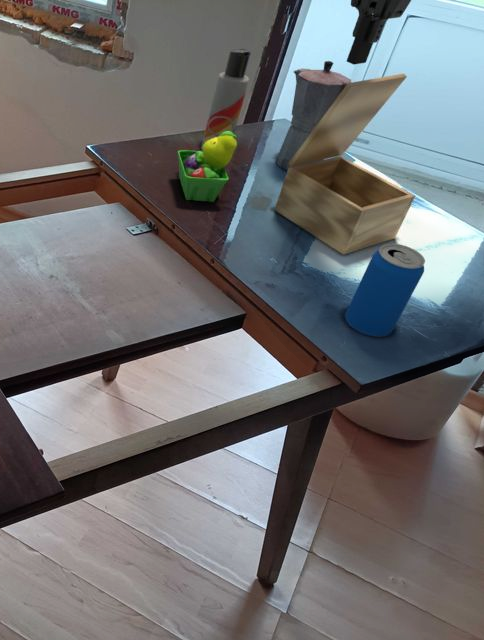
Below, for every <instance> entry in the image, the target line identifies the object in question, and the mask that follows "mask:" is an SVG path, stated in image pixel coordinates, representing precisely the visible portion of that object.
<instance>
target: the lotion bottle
mask: <svg viewBox="0 0 484 640" xmlns="http://www.w3.org/2000/svg"><path fill="white" fill-rule="evenodd" d="M251 55H252V52H251V51H250V50H248V49H245V48H237V49H231V50H230V51H229V54H228V58H227V61H226V66H225V70H224V71H222V72H219V75H218V77H217V81H216V85H215V89H214V93H213V96H212V97H213V98H212V101H211V105H210V110H209V112H208V113H209V114H208V117H207V122H206V126H205V129H204V134H203V138H202V142H201V148H200V151H202V152H203V148H202V147H203V145H204V143H205V142H206V141H208V140H210V139H212V138H215V137H219V136H220V134H222V133H223V132H225V131H231V132H232V133H233V134H234V135H235V133H236V129H237V127H238V122H239V119H240V115H241V111H242V108H243V103H244V100H245V96H246V93H247V89H248V86H249V82H250V78H249V76H248V75H246V74H247V70H248V66H249V62H250V58H251Z"/></svg>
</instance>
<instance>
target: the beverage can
mask: <svg viewBox="0 0 484 640" xmlns="http://www.w3.org/2000/svg"><path fill="white" fill-rule="evenodd" d="M425 263H426V259H425V257H424V255H422V253H420V252H419V251H417V250H416V249H414V248H412V247H409V246H406V245H403V244H398V243H386V244H383V245H381V246H380V248H379V249H378V250H377V251H375V252H374V253H373V254H372V256H371V257H370V260H369V262H368V265H367V267H366V269H365V271H364V273H363V276H362V277H361V278H360V279H361V280H360V282H359V284H358V287H357V288H356V290H355V292H354V295H353V297H352V299H351V301H350V303H349V305H348V307H347V309H346V312H345V314H344V317H345V321H346V322H347V324H348V325H349V326H350V327H352V328H353V329H354V330H356V331H358V332H359V333H361V334H365V335H367V336H370V337H371V336H372V337H386V336H389V335H390V334H391V333H392V332H393V331H394V329H395V327H396V325H397V324H398V321H399V320H400V318H401V316H402V314H403V312H404V311H405V309H406V306H407V305H408V303H409V301H410V300H411V298H412V296H413V293H414V292H415V290H416V288H417V287H418V284H419V282H420V280H421V279H422V277H423V275H424V273H425Z"/></svg>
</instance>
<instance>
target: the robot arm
mask: <svg viewBox="0 0 484 640" xmlns="http://www.w3.org/2000/svg"><path fill="white" fill-rule="evenodd" d="M411 2H412V0H350V6H351V8H355V9H356V10H357V11H358V17H357V19H356V21H355V25H354V28H353V31H352V37H353V38H354V39H353V42H352V45H351V47H350V50H349V53H348V56H347V58H346V61H345V62H347V63H348V64H351V65H353V66H354V65H360V64H366V63H367V61H368V58H369V55H370V53H371V50H372V47H373V45H374V43H378V41H379V40H380V38H381V35H382V33H383V30H384V28H385V25H386V23H387V22H388V20H390V19H397V18H401V17H402V16H403V15H404V13H405V11H406V10H407V8H408V6H409V5H410V4H411Z"/></svg>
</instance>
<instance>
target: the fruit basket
mask: <svg viewBox="0 0 484 640" xmlns="http://www.w3.org/2000/svg"><path fill="white" fill-rule="evenodd" d="M236 138H237V135H236V134H235V133H234V134H233V133H232V132H231V131H225V132H223V133H222V134H220V136H219V137H215V138H212V139H210V140H208V141H206V142H205V143H204V145H203V147H202V146H201V147H202V148H203V151H202V150H191V149H189V150H188V149H180V150H178V151H177V158H178V178H179V181H180V185H181V188H182V191H183V194H184V198H185V200H186V201H195V202H211V203H214V202H215V200H216V199H217V198H218V196H219V194H220V192H221V191H222V190H223V187H224V185H225V184H227V182H228V181H229V176H228V174H227V170H226V169H225V167H226V166H227V165H228V164H229V163H230V161H232V158H233V155H234V152H235V150H236V149H237V145H238V142H237V140H236Z"/></svg>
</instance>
